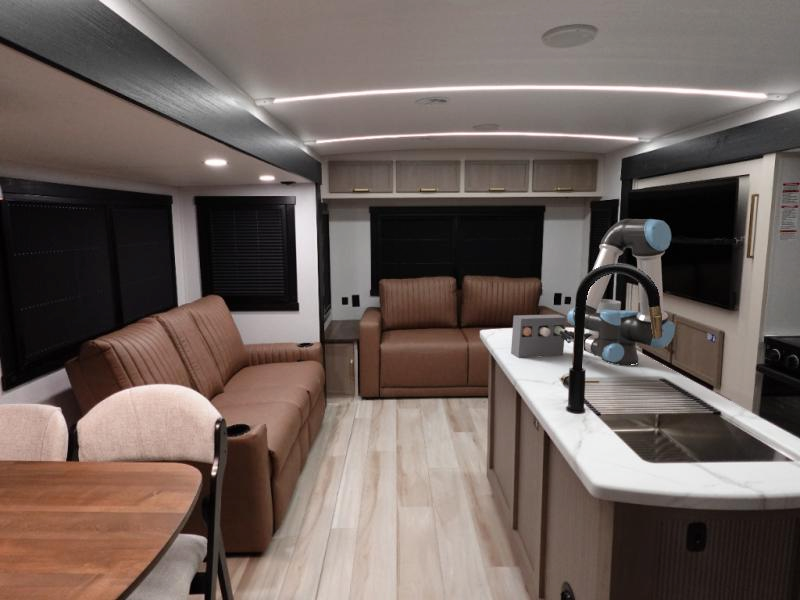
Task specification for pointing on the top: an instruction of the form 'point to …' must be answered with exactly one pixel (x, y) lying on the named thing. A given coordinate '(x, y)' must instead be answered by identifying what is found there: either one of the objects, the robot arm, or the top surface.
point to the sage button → (556, 328)
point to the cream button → (544, 331)
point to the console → (537, 336)
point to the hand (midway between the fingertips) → (558, 330)
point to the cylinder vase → (606, 305)
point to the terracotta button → (526, 331)
